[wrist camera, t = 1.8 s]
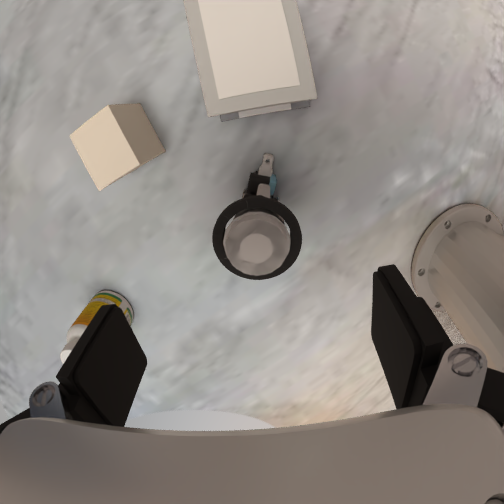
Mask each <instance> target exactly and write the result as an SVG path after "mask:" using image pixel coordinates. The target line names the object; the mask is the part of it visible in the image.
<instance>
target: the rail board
mask: <svg viewBox="0 0 504 504" xmlns="http://www.w3.org/2000/svg"><path fill="white" fill-rule="evenodd" d="M183 1H184V6H185V11H186V16H187V21H188V25H189V30H190V35H191V40H192V45H193V49H194V54H195V59H196V64H197V68H198V73H199V78H200V83H201V87H202V92H203V96H204V101H205V106H206V110H207V115H208V117H212V116H218V115H220V119H221V122H223V121H227V120H232V119H237V118H243V117H248V116H254V115H259V114H265V113H271V112H277V111H284V110H291V109H297V108H305V107H310V103H309V100H312V99H317V93H316V88H315V83H314V77H313V72H312V67H311V63H310V58H309V53H308V48H307V44H306V39H305V35H304V31H303V27H302V22H301V18H300V14H299V10H298V6H297V2H296V0H183Z"/></svg>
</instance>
